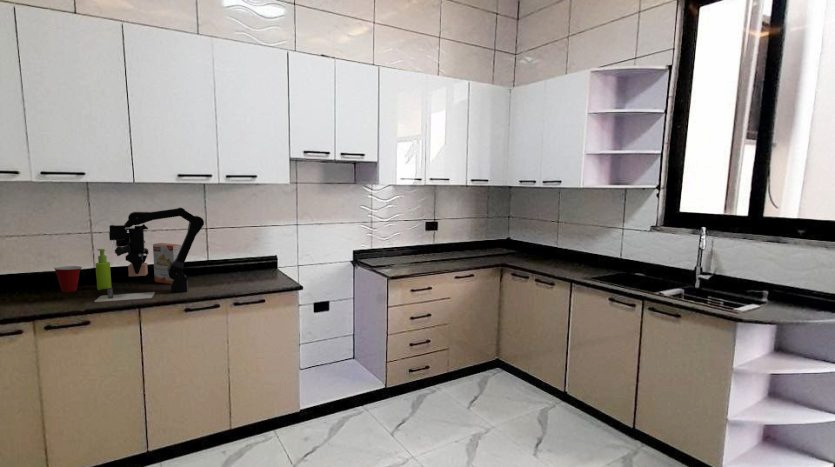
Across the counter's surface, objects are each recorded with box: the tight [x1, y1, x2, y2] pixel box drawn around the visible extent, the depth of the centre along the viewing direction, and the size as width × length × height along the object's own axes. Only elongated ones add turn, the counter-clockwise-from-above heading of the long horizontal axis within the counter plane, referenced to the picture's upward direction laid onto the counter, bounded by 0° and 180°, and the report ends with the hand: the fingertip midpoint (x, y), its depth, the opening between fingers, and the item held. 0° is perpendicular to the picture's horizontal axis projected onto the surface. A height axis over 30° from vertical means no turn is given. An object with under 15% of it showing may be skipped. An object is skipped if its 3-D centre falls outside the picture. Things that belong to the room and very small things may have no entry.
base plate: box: [94, 291, 156, 303], centre depth 204 cm, size 22×11×1 cm, turn 113°
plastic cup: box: [53, 265, 83, 293], centre depth 215 cm, size 11×11×12 cm
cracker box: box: [152, 242, 182, 285], centre depth 235 cm, size 14×6×21 cm, turn 72°
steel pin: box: [106, 287, 114, 298], centre depth 201 cm, size 2×2×4 cm
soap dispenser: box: [95, 248, 112, 291], centre depth 220 cm, size 6×7×20 cm
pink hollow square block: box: [127, 262, 149, 277], centre depth 204 cm, size 7×6×5 cm
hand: (138, 272), depth 204 cm, fingers closed on pink hollow square block, 6 cm apart
